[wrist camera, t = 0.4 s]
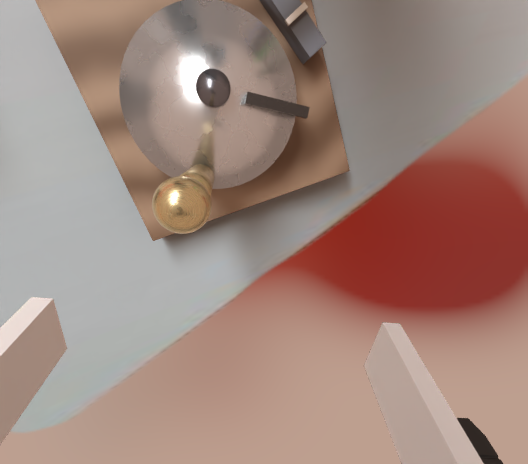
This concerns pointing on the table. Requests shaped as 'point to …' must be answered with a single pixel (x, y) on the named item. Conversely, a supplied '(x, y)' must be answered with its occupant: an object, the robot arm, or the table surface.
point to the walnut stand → (116, 131)
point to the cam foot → (206, 103)
